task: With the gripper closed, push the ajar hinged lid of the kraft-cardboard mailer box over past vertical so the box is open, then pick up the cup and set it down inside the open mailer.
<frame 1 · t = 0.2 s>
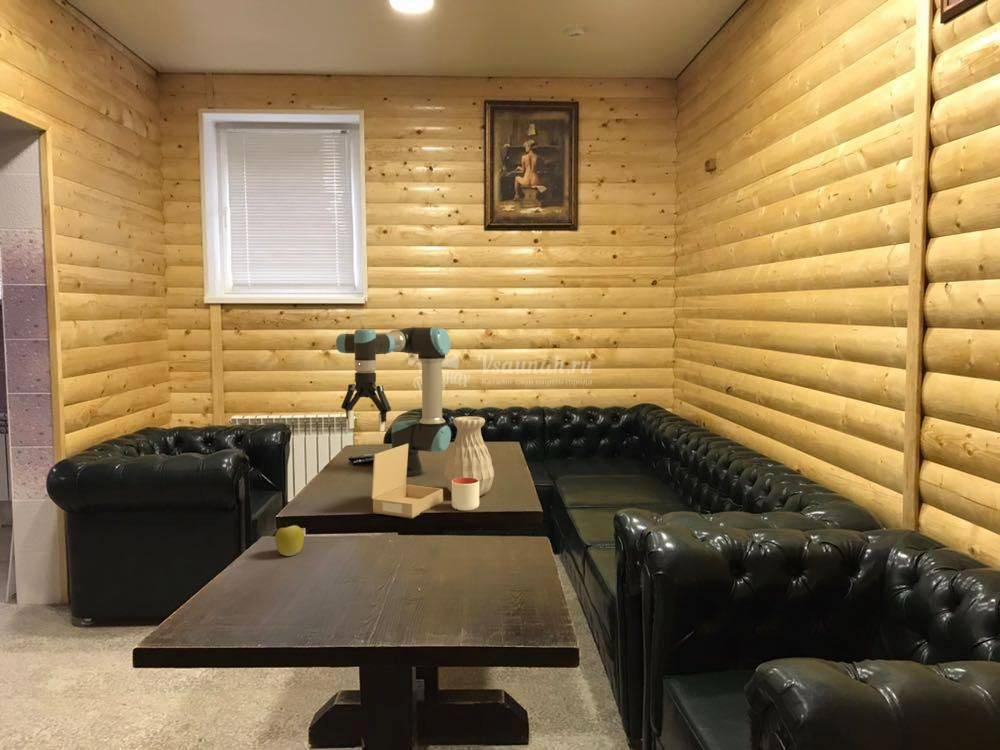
hand: (366, 429, 243), 28 cm above the table, fingers open, 13 cm apart
mailer box: (409, 507, 242), on the table
cup: (465, 508, 242), on the table
apple: (290, 554, 195), on the table
lid: (390, 470, 244), point 13 cm above the table, hinge at 85.0°
vase: (468, 494, 260), on the table
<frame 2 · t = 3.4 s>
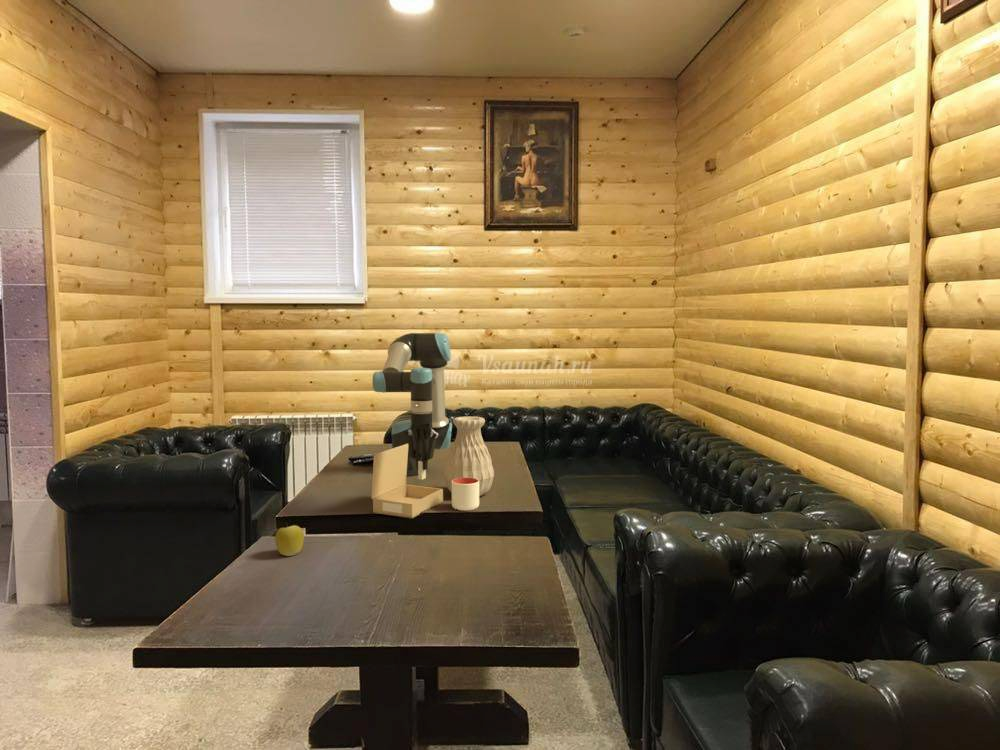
hand: (422, 478, 234), 12 cm above the table, fingers closed
nothing on the table moved.
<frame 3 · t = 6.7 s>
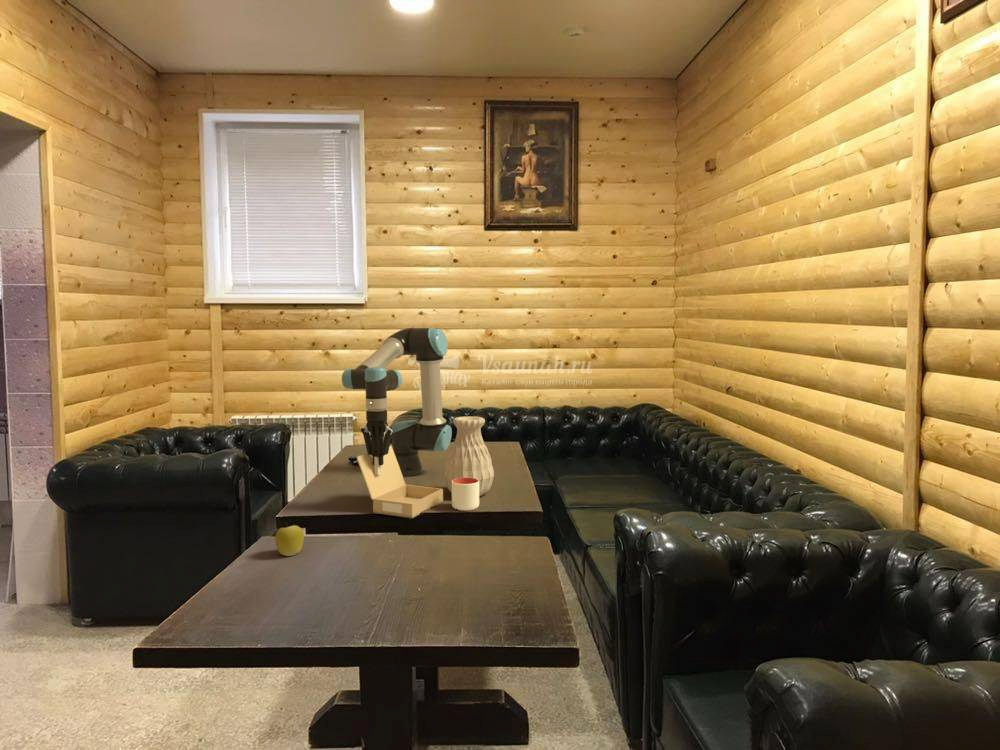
hand: (378, 473, 242), 12 cm above the table, fingers closed
lid: (381, 471, 246), point 12 cm above the table, hinge at 113.1°, touching gripper
everything else where it was.
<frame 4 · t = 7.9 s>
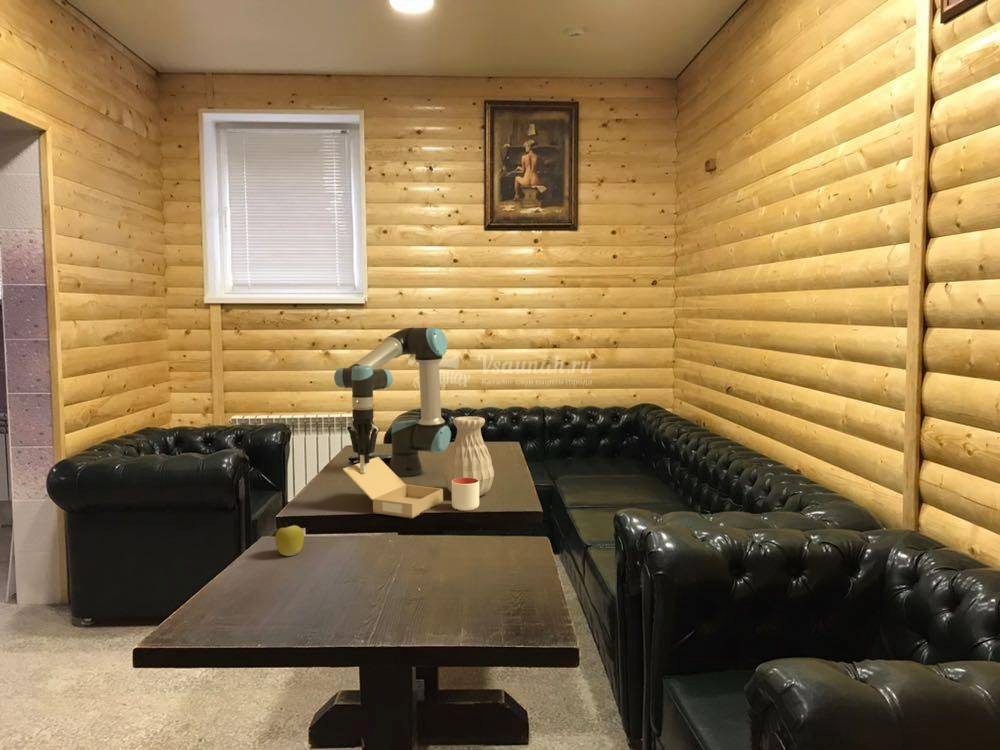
hand: (364, 471, 244), 12 cm above the table, fingers closed
lid: (375, 477, 247), point 10 cm above the table, hinge at 141.8°, touching gripper
everything else where it was.
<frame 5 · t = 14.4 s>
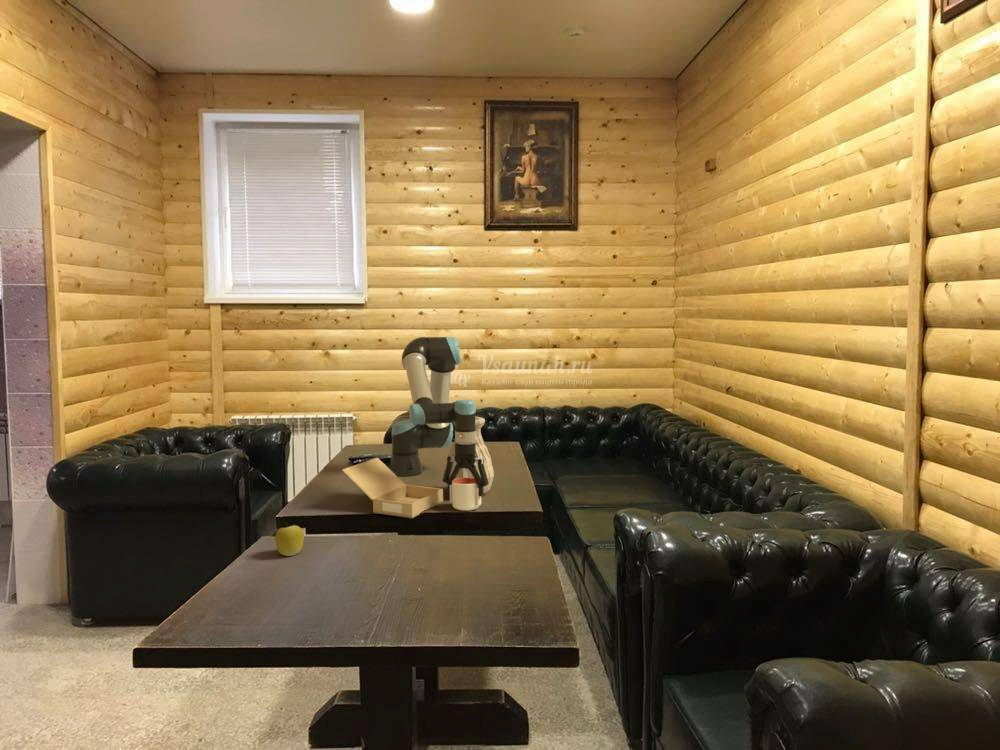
hand: (465, 503, 241), 2 cm above the table, fingers closed on cup, 10 cm apart
cup: (465, 508, 242), on the table, touching gripper
lid: (374, 478, 247), point 9 cm above the table, hinge at 143.5°
vase: (468, 494, 260), on the table, touching arm
everything else where it was.
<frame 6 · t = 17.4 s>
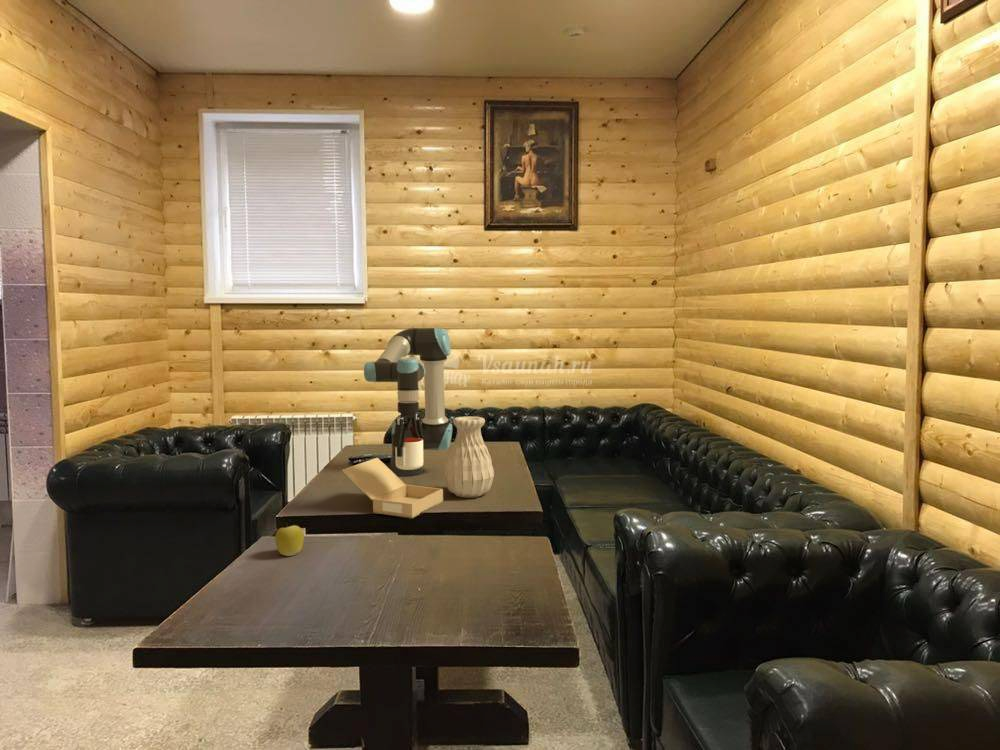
hand: (408, 462, 241), 17 cm above the table, fingers closed on cup, 10 cm apart
cup: (409, 467, 241), point 15 cm above the table, touching gripper
vase: (468, 494, 260), on the table
everything else where it was.
when the fingers open (3 cm above the table, at t = 20.6 s): cup stays where it is, resting on mailer box.
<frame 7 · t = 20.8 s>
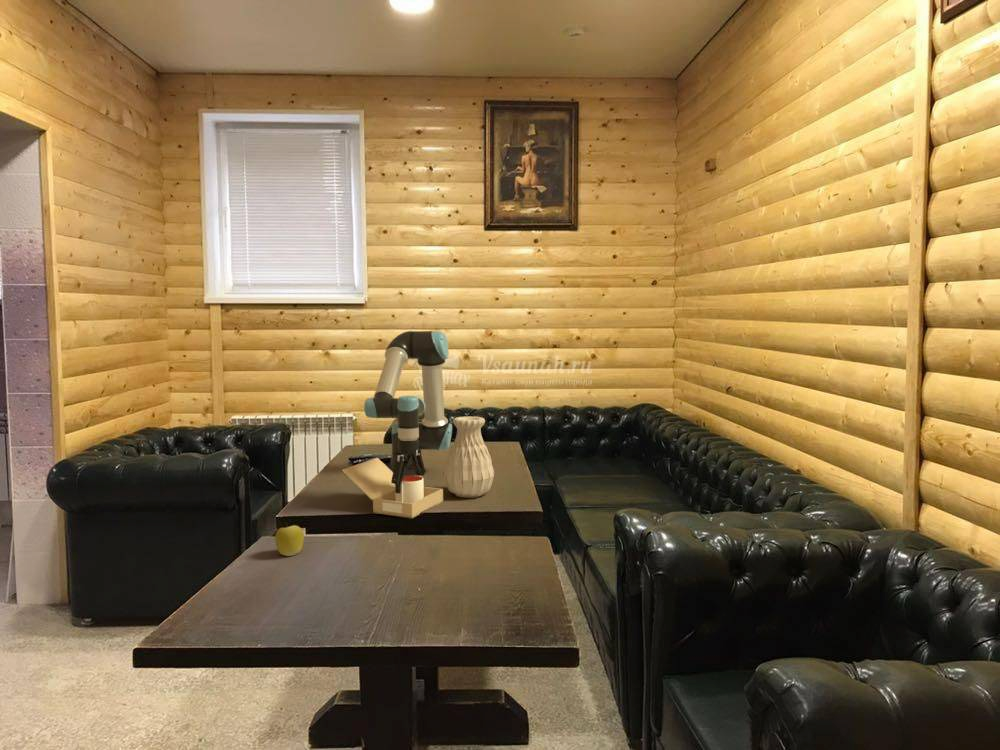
hand: (409, 497, 242), 4 cm above the table, fingers open, 12 cm apart
cup: (410, 506, 242), resting on mailer box
everything else where it was.
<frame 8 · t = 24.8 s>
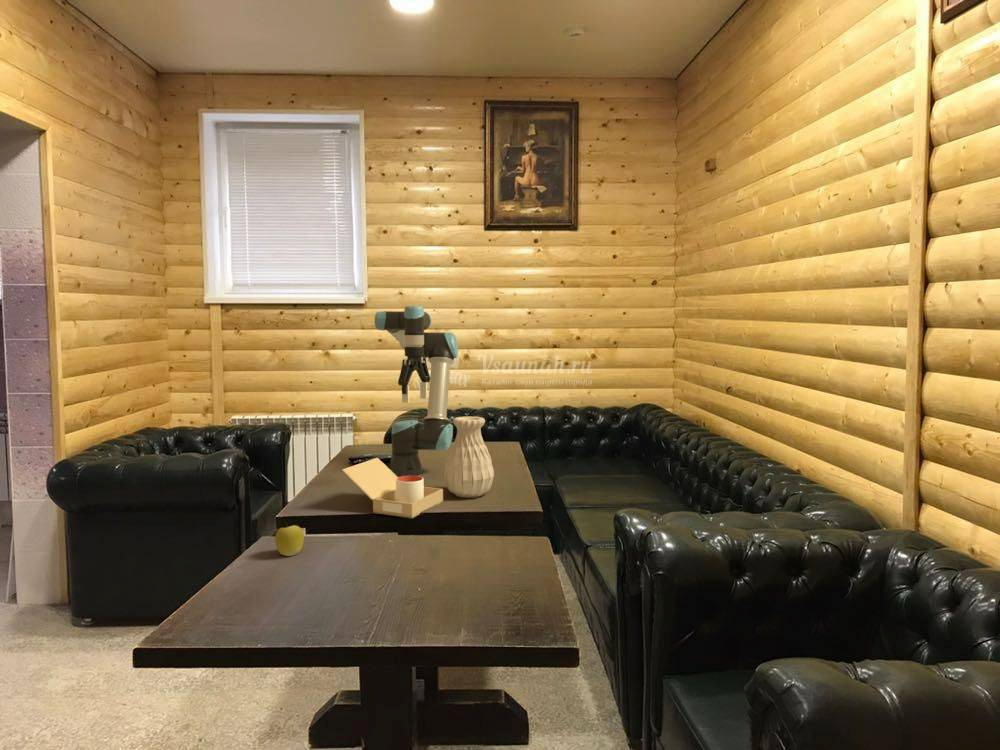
hand: (414, 400, 259), 37 cm above the table, fingers open, 13 cm apart
nothing on the table moved.
at the end: lid at +144° (first picture: +85°); cup inside the target area on the mailer box (0.3 cm from its centre), point 0.4 cm above the mailer box's base; cup tilted 0° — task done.
